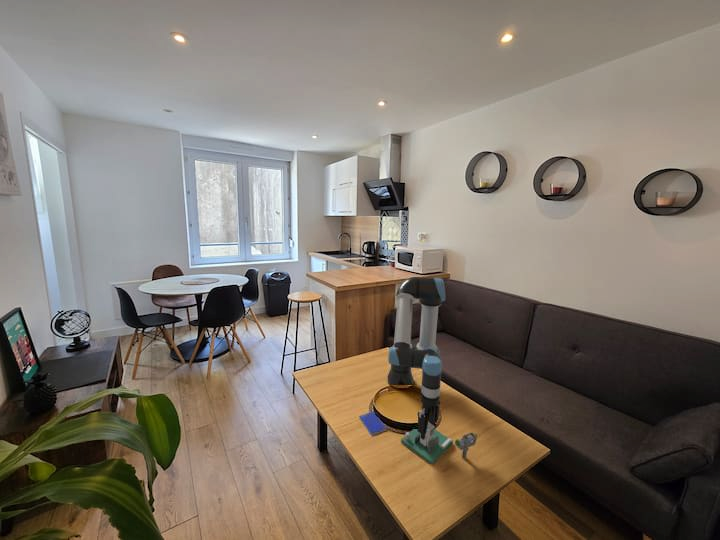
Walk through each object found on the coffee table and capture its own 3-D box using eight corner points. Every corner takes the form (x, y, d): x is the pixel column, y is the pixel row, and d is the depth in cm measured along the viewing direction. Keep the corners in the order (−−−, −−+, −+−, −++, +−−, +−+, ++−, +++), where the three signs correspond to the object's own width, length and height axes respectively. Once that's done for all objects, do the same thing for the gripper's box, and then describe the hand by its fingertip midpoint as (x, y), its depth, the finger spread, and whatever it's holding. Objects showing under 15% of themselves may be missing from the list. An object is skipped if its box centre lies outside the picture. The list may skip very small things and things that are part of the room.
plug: (425, 436, 133) (426, 420, 131) (434, 442, 129) (435, 426, 127) (419, 441, 130) (421, 424, 128) (429, 447, 127) (430, 430, 125)
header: (424, 435, 135) (424, 427, 134) (438, 444, 130) (439, 437, 129) (414, 443, 131) (415, 435, 130) (429, 453, 125) (429, 445, 124)
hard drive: (359, 415, 147) (371, 433, 136) (373, 411, 151) (386, 427, 140) (359, 418, 148) (371, 436, 137) (373, 413, 151) (386, 430, 140)
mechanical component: (451, 458, 125) (454, 438, 123) (471, 451, 129) (473, 431, 126) (456, 464, 122) (459, 444, 120) (476, 456, 126) (478, 436, 124)
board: (422, 424, 144) (422, 416, 143) (452, 443, 133) (453, 435, 131) (401, 442, 133) (401, 433, 132) (432, 465, 122) (432, 456, 121)
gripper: (434, 381, 133) (430, 426, 138) (410, 398, 121) (407, 446, 127) (449, 388, 127) (444, 435, 133) (425, 407, 116) (422, 457, 121)
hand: (426, 440), depth 130 cm, fingers closed on plug, 4 cm apart
